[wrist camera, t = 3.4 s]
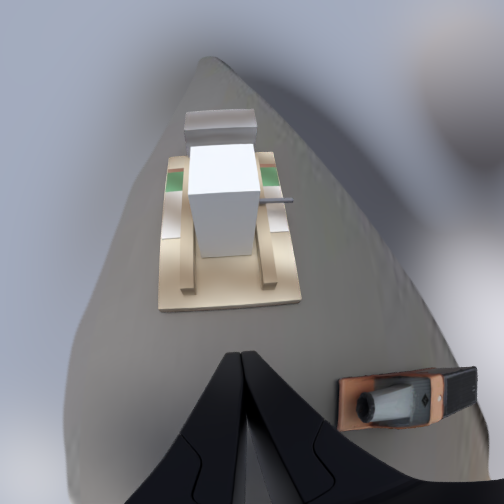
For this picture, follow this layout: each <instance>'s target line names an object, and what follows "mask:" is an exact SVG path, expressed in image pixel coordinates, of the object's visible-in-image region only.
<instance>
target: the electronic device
mask: <svg viewBox="0 0 504 504" xmlns="http://www.w3.org/2000/svg"><path fill="white" fill-rule="evenodd" d="M477 381H478V380H477V368H476V367H475V366H472V367H458V368H426V369H420V370H414V371H405V372H399V373H388V374H379V375H370V376H367V375H365V376H362V377H347V378H340V379H339V413H338V425H337V430H338V431H339V432H341V431H348V430H359V429H365V428H389V429H393V428H395V429H406V428H416V427H424V426H429V425H430V424H432V423H435V422H439V421H440V420H441V419H443V418H445V417H448V416H449V415H452V414H454V413H456V412H458V411H460V410H462V409H464V408H466V407H469V406H472V405H473V404H475V403H476V401H477Z"/></svg>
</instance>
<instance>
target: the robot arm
mask: <svg viewBox="0 0 504 504" xmlns="http://www.w3.org/2000/svg"><path fill="white" fill-rule="evenodd" d="M246 415H247V417H246ZM247 421H248V426H249V430H250V433H251V437H252V440H253V444H254V447H255V451H256V454H257V457H258V461H259V464H260V467H261V471H262V474H263V477H264V480H265V484H266V487H267V490H268V493H269V496H270V499H271V502H272V504H504V479H499V480H490V481H476V482H431V481H424V480H419V479H415V478H412V477H410V476H407V475H405V474H403V473H401V472H400V471H398V470H396V469H394V468H393V467H391V466H389V465H387V464H386V463H384V462H382V461H381V460H379V459H377V458H376V457H374V456H372V455H371V454H369V453H368V452H366V451H365V450H363V449H362V448H360V447H359V446H357V445H356V444H354V443H353V442H351V441H350V440H349V439H347V438H346V437H345V436H344V435H342V434H341V433H340V432H339V431H338V430H336V429H335V428H334V427H333V426H332V425H331V424H330V423H329V422H328V421H326V420H324V418H323V417H322V416H321V415H320V414H319V413H318V412H316V411H315V410H314V409H313V408H312V407H311V406H310V405H309V404H308V403H307V402H306V401H305V400H304V399H303V398H302V397H301V396H300V395H299V394H297V393H296V392H295V391H294V390H293V389H292V388H291V387H290V386H289V385H288V384H287V383H286V382H285V381H284V380H283V379H282V378H281V377H280V376H279V375H278V374H277V373H276V372H275V371H274V370H273V369H272V368H271V367H270V366H269V365H268V364H267V363H266V362H265V361H264V360H263V359H262V357H261V356H260V355H259V354H258V353H257V352H256V351H243V352H241V354H240V352H228V353H226V354H225V355H224V357H223V359H222V360H221V362H220V364H219V366H218V367H217V369H216V371H215V373H214V374H213V376H212V378H211V380H210V381H209V383H208V385H207V387H206V388H205V390H204V392H203V394H202V395H201V397H200V399H199V400H198V402H197V404H196V406H195V407H194V409H193V411H192V412H191V414H190V416H189V417H188V419H187V421H186V423H185V424H184V426H183V428H182V429H181V431H180V434H178V436H177V437H176V439H175V441H174V442H173V444H172V446H171V447H170V449H169V450H168V452H167V453H166V455H165V456H164V458H163V459H162V460H161V462H160V463H159V464H158V465H157V467H156V468H155V469H154V470H153V472H152V473H151V474H150V475H149V476H148V477H147V479H146V480H145V481H144V482H143V483H142V484H141V485H140V487H139V488H138V489H137V490H136V491H135V492H134V493H133V494H132V495H131V496H130V498H129V499H128V500H127V501H126V502H125V503H124V504H245V485H246V444H247Z"/></svg>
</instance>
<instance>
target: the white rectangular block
mask: <svg viewBox="0 0 504 504" xmlns="http://www.w3.org/2000/svg"><path fill="white" fill-rule="evenodd" d="M188 198H189V203H190V208H191V212H192V217H193V222H194V227H195V231H196V236H197V240H198V245H199V249H200V254H201V258H207V257H223V256H239V255H252V248H253V241H254V234H255V227H256V219H257V212H258V205H259V204H266V203H293V198H262V199H259V198H260V184H259V178H258V171H257V165H256V159H255V153H254V147H253V144H230V145H210V146H196V147H191V150H190V165H189V182H188Z"/></svg>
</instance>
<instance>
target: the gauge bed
mask: <svg viewBox="0 0 504 504" xmlns="http://www.w3.org/2000/svg"><path fill="white" fill-rule="evenodd" d="M184 134H185V141H186V148H187V155H188V156H178V157H169V162H168V170H167V178H166V186H165V196H164V206H163V217H162V229H161V244H160V264H159V301H158V309H159V310H160V311H161V312H183V311H204V310H221V309H236V308H249V307H261V306H273V305H283V304H293V303H299V302H300V301H301V299H302V298H301V292H300V287H299V281H298V275H297V269H296V264H295V258H294V253H293V247H292V242H291V237H290V231H289V226H288V221H287V216H286V211H285V206H284V203H266V204H259V205H258V212H257V219H256V227H255V234H254V241H253V248H252V255H239V256H223V257H207V258H201V254H200V249H199V245H198V240H197V236H196V231H195V227H194V222H193V217H192V212H191V208H190V203H189V198H188V182H189V165H190V150H191V147H196V146H210V145H230V144H253V147H254V153H255V159H256V165H257V171H258V178H259V184H260V198H259V199H262V198H283V196H282V191H281V187H280V182H279V177H278V173H277V168H276V164H275V159H274V155H273V152H255V144H256V134H257V124H256V119H255V114H254V109H228V110H207V111H194V112H186V119H185V126H184Z"/></svg>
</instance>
